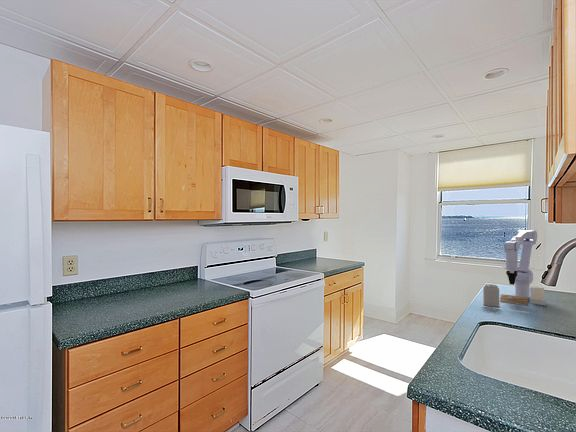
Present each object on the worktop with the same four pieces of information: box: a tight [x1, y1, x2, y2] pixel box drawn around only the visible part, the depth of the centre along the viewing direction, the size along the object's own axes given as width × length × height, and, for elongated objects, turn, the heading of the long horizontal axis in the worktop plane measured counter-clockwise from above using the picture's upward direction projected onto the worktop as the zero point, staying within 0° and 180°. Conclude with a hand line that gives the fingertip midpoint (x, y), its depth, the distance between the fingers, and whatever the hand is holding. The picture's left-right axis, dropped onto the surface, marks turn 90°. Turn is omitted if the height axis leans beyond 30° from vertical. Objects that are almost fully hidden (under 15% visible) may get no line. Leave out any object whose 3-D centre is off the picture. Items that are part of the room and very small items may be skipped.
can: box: [482, 283, 500, 308], centre depth 173 cm, size 8×8×12 cm
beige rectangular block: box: [530, 286, 545, 301], centre depth 178 cm, size 2×6×9 cm, turn 52°
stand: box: [529, 298, 547, 306], centre depth 177 cm, size 6×7×3 cm
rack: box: [499, 293, 529, 306], centre depth 182 cm, size 13×13×3 cm
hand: (512, 283), depth 186 cm, fingers open, 7 cm apart
